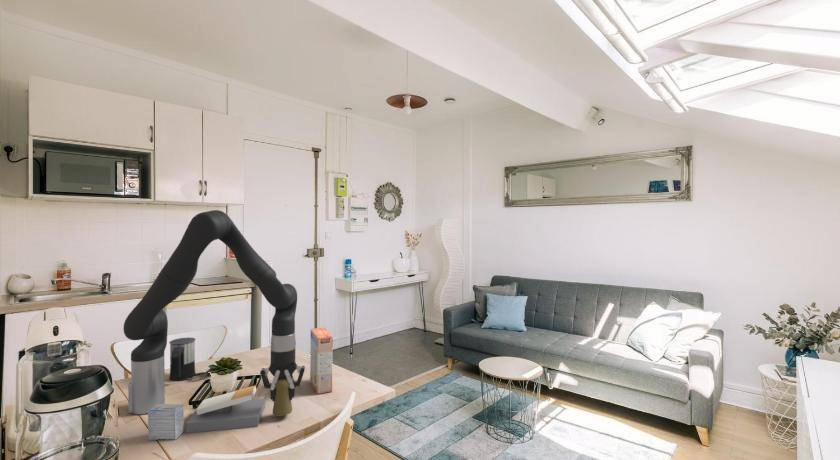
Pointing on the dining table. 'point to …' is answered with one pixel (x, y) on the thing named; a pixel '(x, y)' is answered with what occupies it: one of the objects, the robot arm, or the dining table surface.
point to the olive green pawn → (282, 398)
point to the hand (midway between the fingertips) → (282, 399)
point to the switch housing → (228, 417)
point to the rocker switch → (226, 400)
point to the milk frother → (183, 359)
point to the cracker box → (321, 360)
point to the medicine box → (165, 421)
